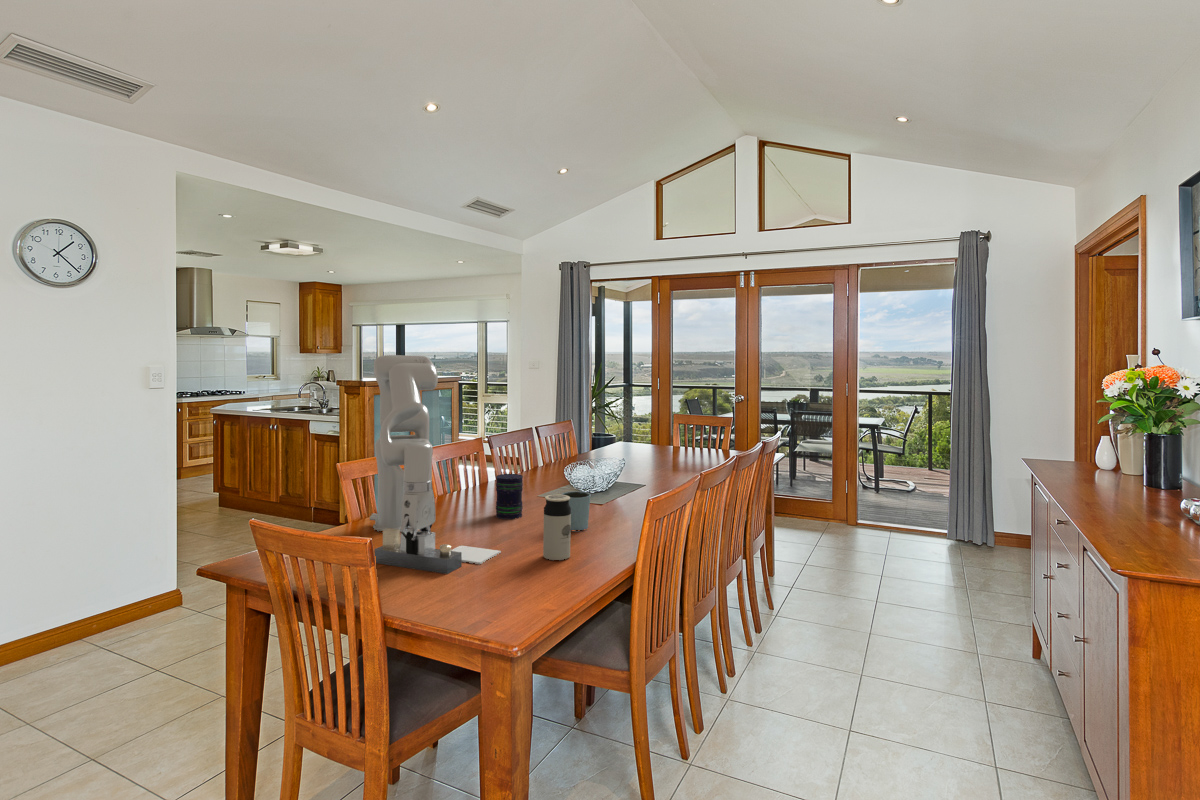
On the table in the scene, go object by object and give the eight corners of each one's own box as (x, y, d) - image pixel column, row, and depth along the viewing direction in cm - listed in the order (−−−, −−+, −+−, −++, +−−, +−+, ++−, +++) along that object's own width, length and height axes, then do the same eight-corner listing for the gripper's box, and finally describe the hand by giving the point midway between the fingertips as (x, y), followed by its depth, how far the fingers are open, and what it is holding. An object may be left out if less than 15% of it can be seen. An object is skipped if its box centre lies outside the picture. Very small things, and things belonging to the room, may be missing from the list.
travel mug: (537, 556, 191) (538, 496, 190) (559, 551, 196) (560, 493, 195) (553, 563, 185) (554, 501, 184) (575, 557, 190) (576, 497, 189)
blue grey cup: (591, 525, 227) (592, 491, 227) (588, 533, 217) (588, 498, 217) (563, 524, 228) (563, 490, 228) (558, 531, 218) (559, 496, 218)
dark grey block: (374, 562, 182) (374, 531, 181) (390, 555, 188) (390, 525, 188) (447, 574, 174) (447, 541, 173) (461, 566, 180) (461, 534, 180)
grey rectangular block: (400, 551, 180) (400, 533, 179) (411, 546, 184) (411, 529, 184) (424, 554, 177) (424, 537, 177) (435, 550, 182) (435, 532, 181)
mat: (438, 558, 187) (438, 556, 187) (460, 547, 198) (460, 545, 198) (480, 564, 182) (480, 562, 182) (500, 552, 193) (500, 550, 193)
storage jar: (492, 514, 241) (492, 474, 240) (517, 511, 245) (518, 473, 244) (499, 520, 232) (500, 479, 231) (525, 518, 236) (526, 477, 235)
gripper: (410, 493, 170) (410, 561, 171) (446, 482, 186) (446, 544, 187) (386, 491, 173) (387, 557, 174) (424, 480, 189) (424, 541, 190)
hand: (417, 549), depth 181 cm, fingers closed on grey rectangular block, 5 cm apart
